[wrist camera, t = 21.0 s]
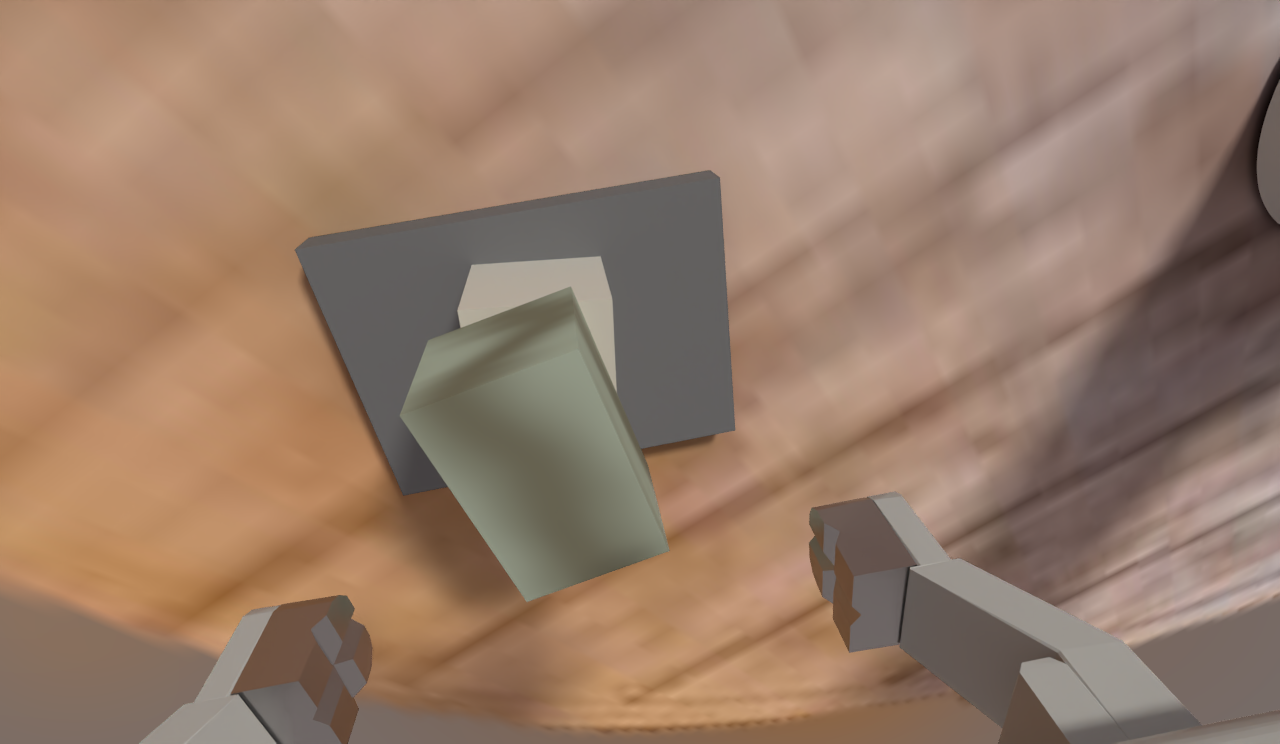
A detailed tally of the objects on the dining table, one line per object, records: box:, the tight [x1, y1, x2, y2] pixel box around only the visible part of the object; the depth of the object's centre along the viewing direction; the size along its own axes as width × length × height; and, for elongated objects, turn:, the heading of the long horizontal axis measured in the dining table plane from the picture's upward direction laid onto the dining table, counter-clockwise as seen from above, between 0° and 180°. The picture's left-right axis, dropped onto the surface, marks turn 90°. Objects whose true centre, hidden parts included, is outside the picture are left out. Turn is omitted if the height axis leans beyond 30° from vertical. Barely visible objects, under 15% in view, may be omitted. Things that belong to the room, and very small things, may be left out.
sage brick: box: [400, 286, 669, 602], centre depth 19 cm, size 5×8×4 cm, turn 19°
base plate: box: [295, 170, 735, 496], centre depth 26 cm, size 16×12×2 cm
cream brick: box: [457, 256, 617, 392], centre depth 23 cm, size 5×8×4 cm, turn 2°
